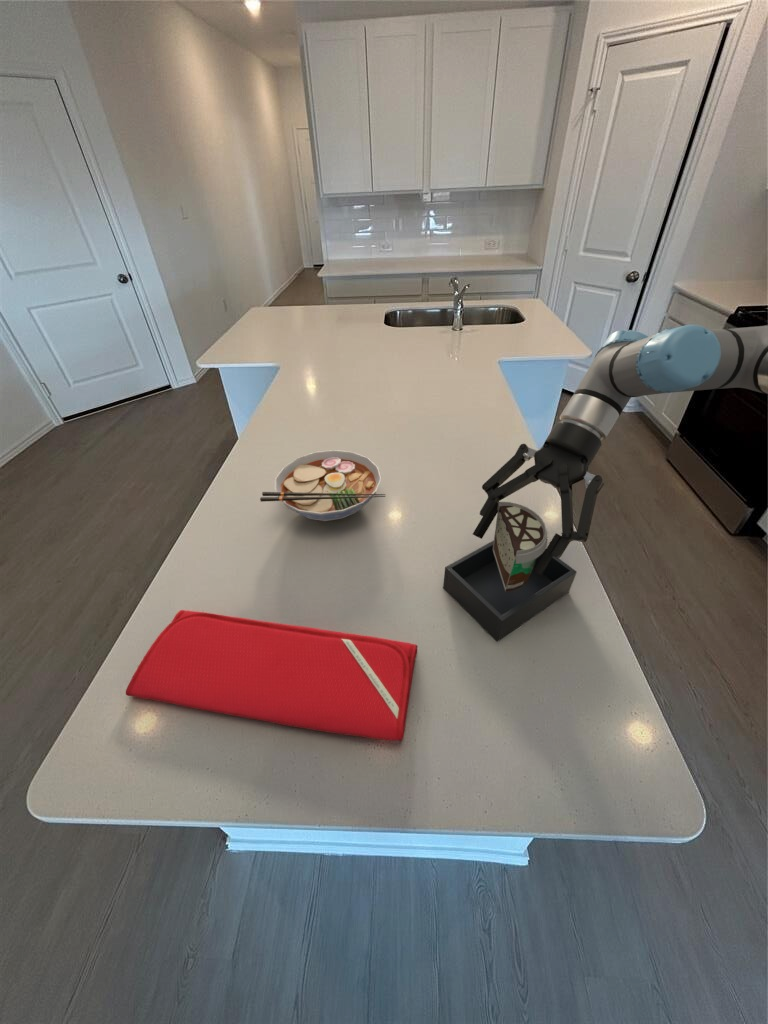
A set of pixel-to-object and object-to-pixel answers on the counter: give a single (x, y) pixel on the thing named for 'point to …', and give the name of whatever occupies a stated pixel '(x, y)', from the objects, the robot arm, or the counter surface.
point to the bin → (485, 595)
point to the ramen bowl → (326, 484)
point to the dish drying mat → (280, 674)
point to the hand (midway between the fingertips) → (505, 553)
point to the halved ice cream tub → (517, 543)
